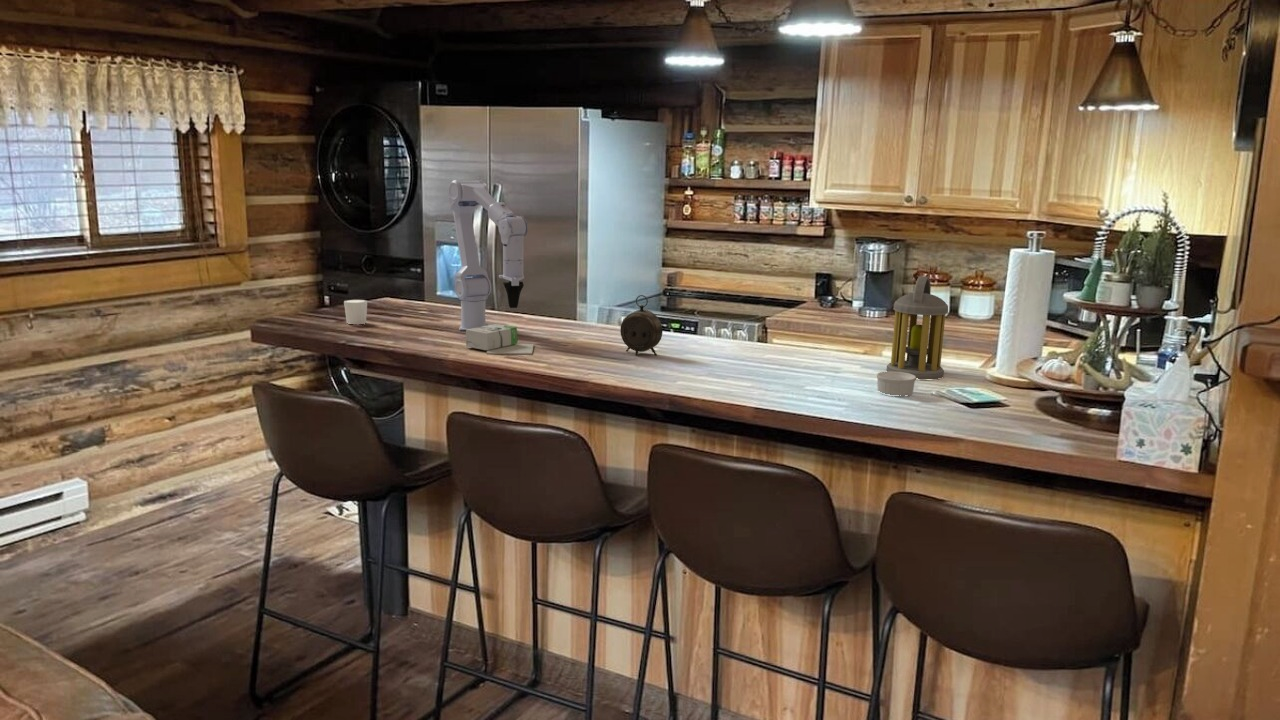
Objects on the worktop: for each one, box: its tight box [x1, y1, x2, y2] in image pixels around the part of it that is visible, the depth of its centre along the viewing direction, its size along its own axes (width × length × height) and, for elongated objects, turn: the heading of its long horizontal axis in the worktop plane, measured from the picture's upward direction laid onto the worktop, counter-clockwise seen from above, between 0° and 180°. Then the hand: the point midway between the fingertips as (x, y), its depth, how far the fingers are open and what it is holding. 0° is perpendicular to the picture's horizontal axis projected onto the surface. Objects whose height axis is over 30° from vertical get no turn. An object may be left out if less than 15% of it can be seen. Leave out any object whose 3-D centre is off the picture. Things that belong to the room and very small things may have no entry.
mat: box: [486, 343, 535, 355], centre depth 259 cm, size 12×12×1 cm
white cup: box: [343, 299, 368, 325], centre depth 291 cm, size 7×7×7 cm
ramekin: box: [876, 371, 917, 396], centre depth 223 cm, size 9×9×4 cm
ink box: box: [465, 323, 518, 351], centre depth 261 cm, size 9×5×12 cm
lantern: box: [885, 275, 949, 380], centre depth 241 cm, size 14×14×25 cm
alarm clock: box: [620, 294, 663, 356], centre depth 256 cm, size 11×5×16 cm, turn 66°
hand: (513, 307), depth 271 cm, fingers closed
